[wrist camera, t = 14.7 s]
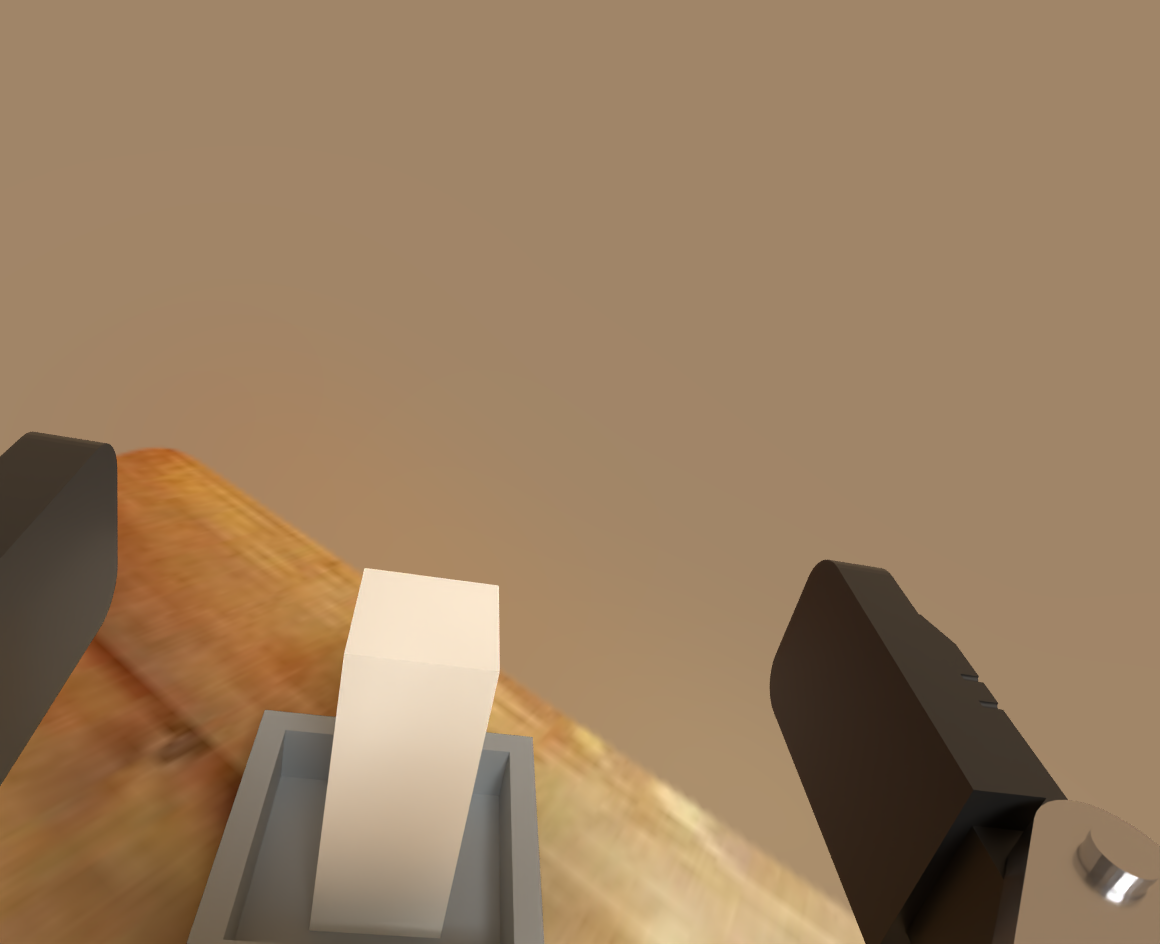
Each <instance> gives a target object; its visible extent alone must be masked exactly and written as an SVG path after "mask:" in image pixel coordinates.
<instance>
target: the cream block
mask: <svg viewBox="0 0 1160 944" xmlns="http://www.w3.org/2000/svg"><path fill="white" fill-rule="evenodd" d="M499 672H500V662H499V586H497V585H490V584H482V583H474V582H466V581H459V580H452V579H444V578H437V577H429V576H421V575H414V574H406V573H399V572H391V571H384V570H376V569H368V568H365V569H364V573H363V577H362V581H361V586H360V590H359V594H358V598H357V602H356V606H355V611H354V615H353V619H352V623H351V627H350V631H349V636H348V640H347V644H346V648H345V652H344V659H343V667H342V675H341V683H340V690H339V698H338V706H337V714H336V722H335V730H334V738H333V746H332V754H331V761H330V769H329V777H328V785H327V793H326V801H325V809H324V817H323V824H322V832H321V840H320V848H319V856H318V864H317V872H316V880H315V887H314V895H313V903H312V911H311V919H310V927H309V931H325V932H342V933H358V934H374V935H391V936H407V937H424V938H440V936H441V931H442V927H443V922H444V918H445V914H446V909H447V905H448V900H449V896H450V891H451V887H452V882H453V878H454V873H455V869H456V864H457V860H458V855H459V851H460V846H461V842H462V837H463V833H464V829H465V824H466V820H467V815H468V811H469V806H470V802H471V797H472V793H473V788H474V784H475V779H476V775H477V770H478V766H479V761H480V757H481V752H482V748H483V743H484V739H485V735H486V730H487V726H488V721H489V717H490V712H491V708H492V703H493V699H494V694H495V690H496V685H497V681H498V676H499Z"/></svg>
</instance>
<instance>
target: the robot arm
mask: <svg viewBox="0 0 1160 944" xmlns="http://www.w3.org/2000/svg"><path fill="white" fill-rule="evenodd" d="M117 564H118V557H117V459H116V454H115V451H114V449H113V447H112V446H111V445H110V444H107V443H100V442H94V441H88V440H82V439H76V438H69V437H62V436H57V435H50V434H44V433H38V432H29V433H26V434H25V435H24V436H22V437H21V438H20V439H19V440H18V441H17V442H16V443H15V444H14V445H12V446H11V447H10V448H9V449H8V450H7V451H6V452H5V453H4V454H3V455H1V456H0V785H1V784H2V782H3V781H4V779H5V778H6V776H7V774H8V773H9V771H10V770H11V768H12V766H13V765H14V763H15V762H16V760H17V759H18V757H19V755H20V754H21V752H22V751H23V749H24V747H25V746H26V744H27V743H28V741H29V740H30V738H31V736H32V735H33V733H34V732H35V730H36V728H37V727H38V725H39V724H40V722H41V720H42V719H43V717H44V716H45V714H46V713H47V711H48V709H49V708H50V706H51V705H52V703H53V701H54V700H55V698H56V697H57V695H58V694H59V692H60V690H61V689H62V687H63V686H64V684H65V682H66V681H67V679H68V678H69V676H70V675H71V673H72V671H73V670H74V668H75V667H76V665H77V663H78V662H79V660H80V659H81V657H82V655H83V654H84V652H85V651H86V649H87V648H88V646H89V644H90V643H91V641H92V640H93V638H94V636H95V635H96V633H97V632H98V630H99V629H100V627H101V625H102V623H103V622H104V619H105V617H106V615H107V613H108V610H109V607H110V604H111V601H112V597H113V594H114V589H115V584H116V578H117ZM770 698H771V704H772V708H773V711H774V714H775V716H776V719H777V721H778V724H779V726H780V729H781V731H782V734H783V736H784V739H785V742H786V744H787V746H788V749H789V752H790V754H791V756H792V759H793V761H794V764H795V767H796V769H797V772H798V774H799V777H800V779H801V782H802V784H803V787H804V789H805V792H806V795H807V797H808V799H809V802H810V804H811V807H812V810H813V812H814V815H815V817H816V820H817V822H818V825H819V827H820V830H821V832H822V835H823V837H824V840H825V842H826V845H827V847H828V850H829V853H830V855H831V858H832V860H833V863H834V865H835V868H836V870H837V873H838V875H839V878H840V880H841V883H842V885H843V888H844V890H845V893H846V895H847V898H848V901H849V903H850V906H851V908H852V911H853V913H854V916H855V918H856V921H857V923H858V926H859V928H860V931H861V933H862V936H863V938H864V941H865V943H866V944H1160V846H1159V845H1158V844H1157V843H1155V842H1154V841H1153V840H1152V839H1150V838H1149V837H1148V836H1147V835H1145V834H1144V833H1143V832H1141V831H1140V830H1138V829H1137V828H1135V827H1134V826H1132V825H1131V824H1129V823H1128V822H1126V821H1124V820H1122V819H1121V818H1119V817H1117V816H1115V815H1113V814H1111V813H1109V812H1107V811H1105V810H1102V809H1100V808H1097V807H1095V806H1092V805H1089V804H1085V803H1082V802H1078V801H1071V800H1068V799H1067V798H1066V797H1065V795H1064V794H1063V792H1062V791H1061V790H1060V788H1059V787H1058V786H1057V784H1056V783H1055V781H1054V780H1053V778H1052V777H1051V776H1050V774H1049V773H1048V772H1047V770H1046V769H1045V768H1044V766H1043V765H1042V763H1041V762H1040V761H1039V759H1038V758H1037V756H1036V755H1035V754H1034V752H1033V751H1032V749H1031V748H1030V747H1029V745H1028V744H1027V742H1026V741H1025V740H1024V738H1023V737H1022V736H1021V734H1020V733H1019V732H1018V730H1017V729H1016V727H1015V726H1014V725H1013V723H1012V722H1011V720H1010V719H1009V718H1008V716H1007V715H1006V713H1005V712H1004V711H1003V710H1000V709H998V708H997V704H998V702H997V701H996V700H995V698H994V697H993V695H992V694H991V693H990V691H989V690H988V688H987V687H986V686H985V684H984V683H981V682H978V675H977V673H976V672H975V671H974V669H973V668H972V666H971V665H970V664H969V662H968V661H967V659H966V658H965V657H964V655H963V654H962V652H961V651H960V650H959V648H958V647H957V646H956V644H955V643H953V642H952V641H951V640H950V639H949V638H948V637H946V636H945V635H944V634H943V633H942V632H940V631H939V630H938V629H937V628H936V627H934V626H933V625H932V624H931V623H929V622H928V621H927V620H926V619H925V618H924V617H923V616H921V615H919V614H918V613H917V611H916V610H915V608H914V607H913V606H912V604H911V603H910V601H909V600H908V598H907V597H906V596H905V594H904V593H903V591H902V590H901V588H900V587H899V585H898V584H897V583H896V581H895V580H894V578H893V577H892V576H891V574H890V573H889V572H888V571H886V570H885V569H882V568H876V567H870V566H864V565H858V564H851V563H845V562H838V561H832V560H823V561H821V562H819V563H818V564H817V565H816V566H815V567H814V568H813V570H812V572H811V573H810V575H809V577H808V580H807V582H806V584H805V587H804V590H803V592H802V594H801V596H800V599H799V601H798V603H797V606H796V608H795V610H794V613H793V615H792V617H791V620H790V622H789V625H788V627H787V629H786V632H785V634H784V637H783V639H782V641H781V643H780V646H779V648H778V651H777V653H776V655H775V658H774V661H773V665H772V670H771V676H770Z"/></svg>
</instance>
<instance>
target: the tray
mask: <svg viewBox="0 0 1160 944" xmlns="http://www.w3.org/2000/svg"><path fill="white" fill-rule="evenodd" d="M335 722H336V717H330V716H321V715H311V714H301V713H291V712H281V711H272V710H265V711H264V714H263V717H262V720H261V723H260V726H259V729H258V732H257V735H256V738H255V741H254V744H253V747H252V750H251V753H250V756H249V759H248V762H247V765H246V768H245V771H244V774H243V777H242V780H241V783H240V786H239V789H238V792H237V795H236V798H235V801H234V804H233V807H232V810H231V813H230V815H229V818H228V821H227V824H226V827H225V830H224V833H223V836H222V839H221V842H220V845H219V848H218V851H217V854H216V857H215V860H214V863H213V866H212V869H211V872H210V875H209V878H208V881H207V884H206V887H205V890H204V893H203V896H202V899H201V902H200V905H199V908H198V911H197V914H196V917H195V920H194V923H193V926H192V929H191V932H190V935H189V938H188V941H187V944H544V931H543V913H542V896H541V878H540V861H539V843H538V825H537V808H536V790H535V773H534V755H533V738H532V737H526V736H516V735H506V734H497V733H487V732H486V735H485V739H484V743H483V748H482V752H481V757H480V761H479V766H478V770H477V775H476V779H475V784H474V788H473V793H472V797H471V802H470V806H469V811H468V815H467V820H466V824H465V829H464V833H463V837H462V842H461V846H460V851H459V855H458V860H457V864H456V869H455V873H454V878H453V882H452V887H451V891H450V896H449V900H448V905H447V909H446V914H445V918H444V922H443V927H442V931H441V936H440V938H424V937H407V936H391V935H374V934H358V933H342V932H325V931H309V927H310V919H311V911H312V903H313V895H314V887H315V880H316V872H317V864H318V856H319V848H320V840H321V832H322V824H323V817H324V809H325V801H326V793H327V785H328V777H329V769H330V761H331V754H332V746H333V738H334V730H335Z"/></svg>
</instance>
